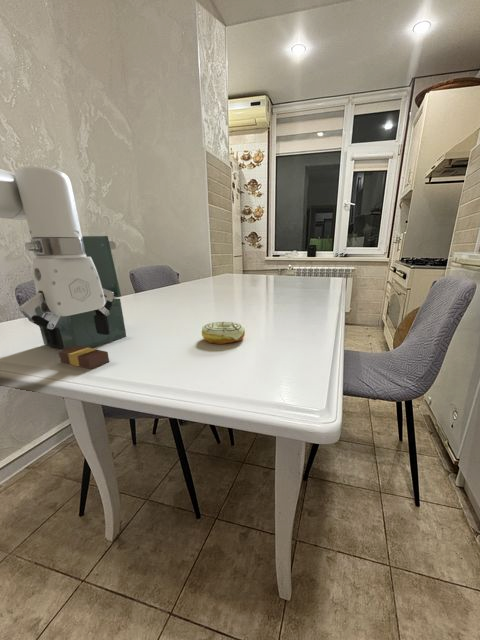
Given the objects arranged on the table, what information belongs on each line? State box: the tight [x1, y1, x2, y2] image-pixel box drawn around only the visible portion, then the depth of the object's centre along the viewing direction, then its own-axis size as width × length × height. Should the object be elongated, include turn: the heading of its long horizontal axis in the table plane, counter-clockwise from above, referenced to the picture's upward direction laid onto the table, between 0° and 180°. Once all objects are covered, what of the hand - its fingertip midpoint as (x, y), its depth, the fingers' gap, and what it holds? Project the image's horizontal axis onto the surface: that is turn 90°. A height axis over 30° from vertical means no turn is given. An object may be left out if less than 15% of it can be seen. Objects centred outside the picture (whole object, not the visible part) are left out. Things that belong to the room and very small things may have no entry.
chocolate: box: [58, 346, 110, 370], centre depth 59 cm, size 9×4×2 cm, turn 66°
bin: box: [35, 297, 127, 350], centre depth 70 cm, size 13×12×10 cm
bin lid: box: [82, 235, 122, 298], centre depth 73 cm, size 14×12×5 cm
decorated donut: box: [201, 321, 246, 345], centre depth 73 cm, size 10×11×4 cm
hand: (82, 340), depth 57 cm, fingers open, 9 cm apart
